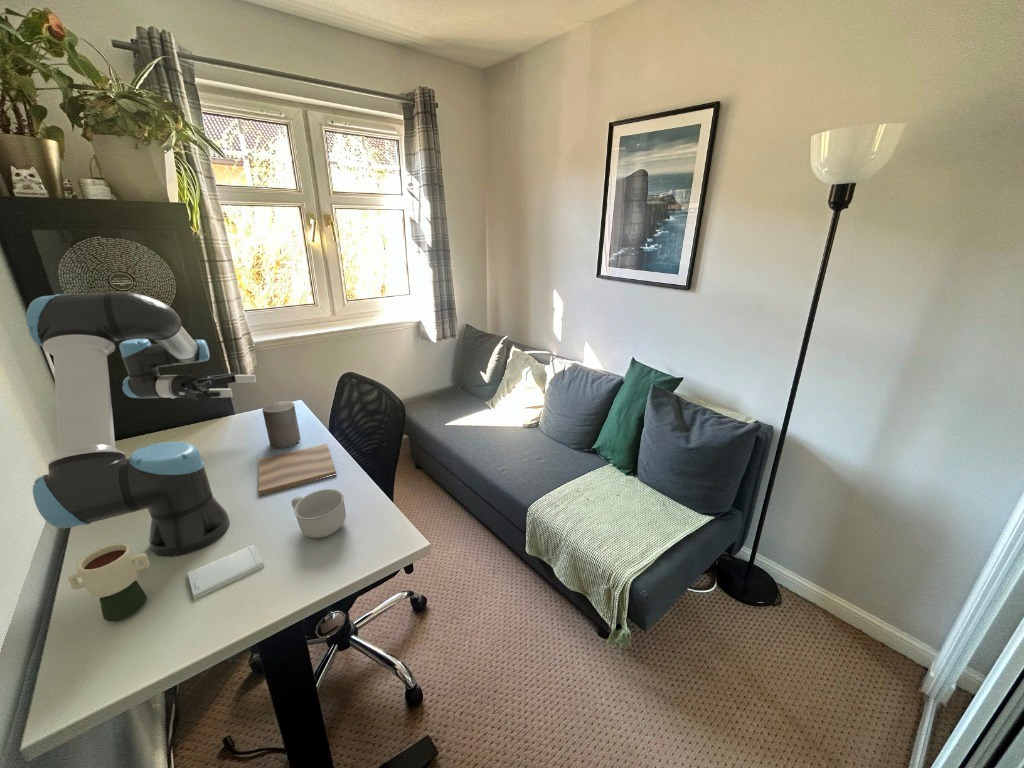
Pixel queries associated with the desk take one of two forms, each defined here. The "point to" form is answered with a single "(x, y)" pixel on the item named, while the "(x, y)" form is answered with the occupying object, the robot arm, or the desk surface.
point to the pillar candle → (281, 424)
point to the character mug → (113, 580)
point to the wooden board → (294, 468)
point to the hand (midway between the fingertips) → (244, 385)
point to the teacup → (320, 512)
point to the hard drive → (224, 571)
